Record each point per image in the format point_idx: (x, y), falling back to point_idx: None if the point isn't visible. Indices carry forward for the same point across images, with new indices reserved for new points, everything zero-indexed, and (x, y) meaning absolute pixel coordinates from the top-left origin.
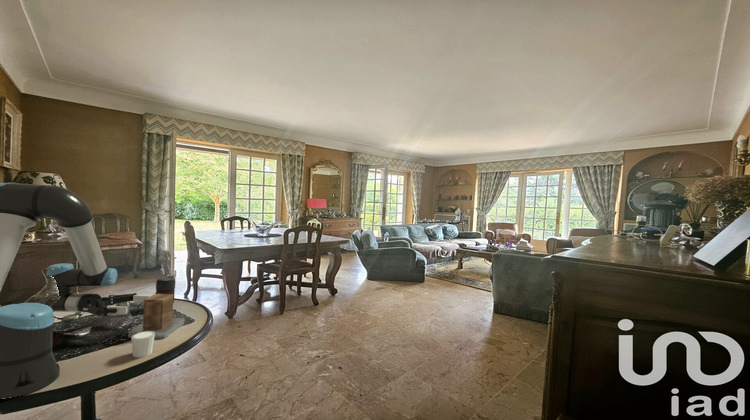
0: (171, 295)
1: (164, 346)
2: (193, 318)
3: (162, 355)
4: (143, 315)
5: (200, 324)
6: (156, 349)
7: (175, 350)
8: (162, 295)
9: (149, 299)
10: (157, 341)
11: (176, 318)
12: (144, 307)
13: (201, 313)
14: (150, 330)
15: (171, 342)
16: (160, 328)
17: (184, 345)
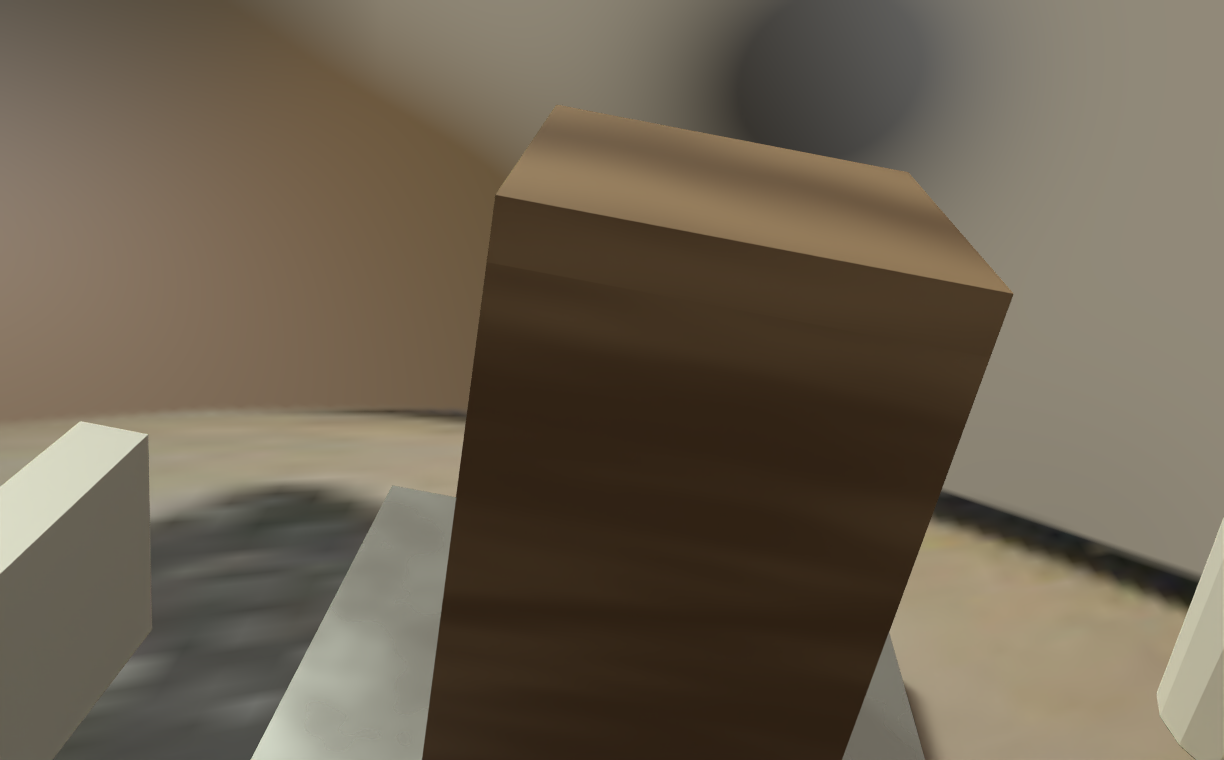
0: (624, 118)
1: (1032, 613)
2: (200, 499)
3: (1184, 593)
4: (876, 660)
5: (451, 443)
6: (1118, 656)
7: (1061, 535)
8: (638, 157)
9: (957, 249)
10: (952, 693)
11: (375, 550)
12: (936, 482)
13: (14, 449)
14: (869, 733)
15: (931, 581)
16: None
17: (954, 499)
